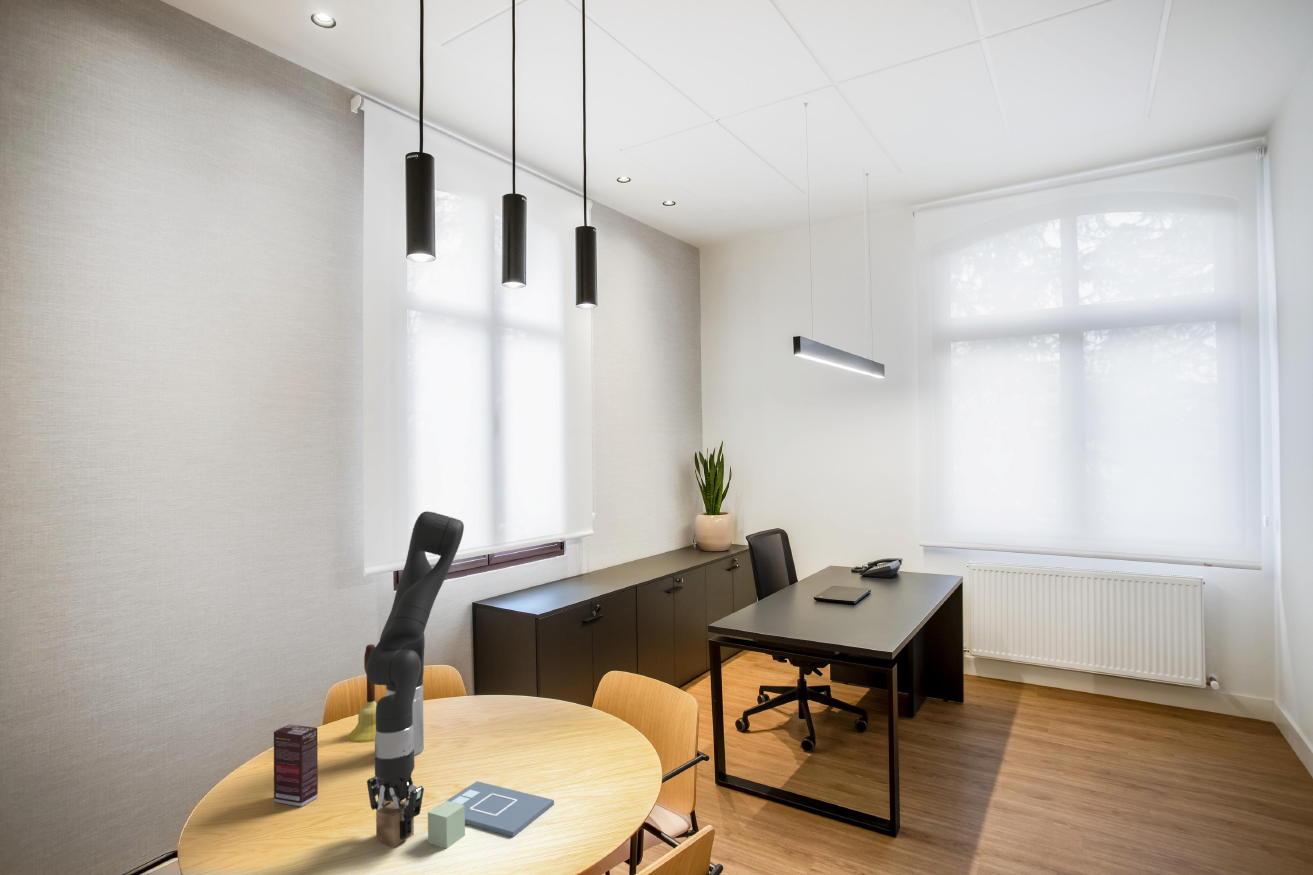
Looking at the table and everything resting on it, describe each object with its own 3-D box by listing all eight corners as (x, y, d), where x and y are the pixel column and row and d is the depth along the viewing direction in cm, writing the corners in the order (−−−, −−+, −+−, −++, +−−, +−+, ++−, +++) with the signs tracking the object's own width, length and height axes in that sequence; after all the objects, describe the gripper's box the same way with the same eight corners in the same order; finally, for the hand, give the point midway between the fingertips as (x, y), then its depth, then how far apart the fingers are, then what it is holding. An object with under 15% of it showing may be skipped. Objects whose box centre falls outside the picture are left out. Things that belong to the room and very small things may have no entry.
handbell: (337, 739, 185) (336, 648, 186) (371, 723, 196) (371, 638, 197) (370, 745, 180) (370, 652, 181) (403, 728, 191) (403, 641, 193)
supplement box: (319, 797, 151) (318, 726, 152) (301, 807, 147) (301, 735, 148) (290, 792, 154) (290, 723, 155) (272, 802, 150) (272, 731, 150)
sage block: (428, 842, 131) (427, 812, 132) (446, 830, 136) (446, 800, 136) (447, 848, 129) (446, 817, 130) (464, 835, 134) (464, 805, 134)
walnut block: (376, 841, 132) (376, 810, 133) (396, 828, 137) (396, 799, 137) (394, 847, 130) (393, 816, 130) (413, 834, 135) (413, 804, 135)
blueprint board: (432, 813, 142) (432, 808, 142) (477, 785, 155) (477, 780, 155) (513, 836, 133) (513, 831, 133) (554, 804, 145) (553, 799, 145)
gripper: (354, 750, 134) (355, 835, 133) (405, 762, 128) (406, 852, 127) (384, 736, 141) (385, 817, 140) (434, 747, 134) (435, 832, 134)
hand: (395, 833), depth 134 cm, fingers closed on walnut block, 5 cm apart
